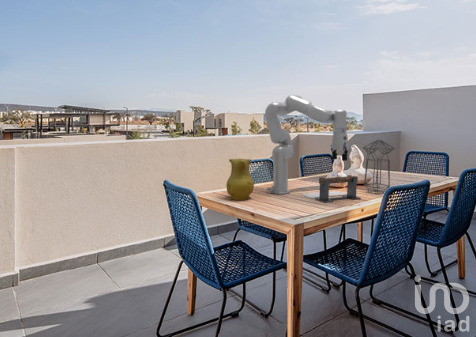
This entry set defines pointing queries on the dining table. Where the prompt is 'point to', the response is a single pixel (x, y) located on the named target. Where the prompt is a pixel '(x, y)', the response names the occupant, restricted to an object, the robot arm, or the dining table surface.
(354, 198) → the rack
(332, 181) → the rod
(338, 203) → the dining table surface
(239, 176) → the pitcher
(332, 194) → the mat
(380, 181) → the geometric lantern
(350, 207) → the dining table surface
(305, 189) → the dining table surface
